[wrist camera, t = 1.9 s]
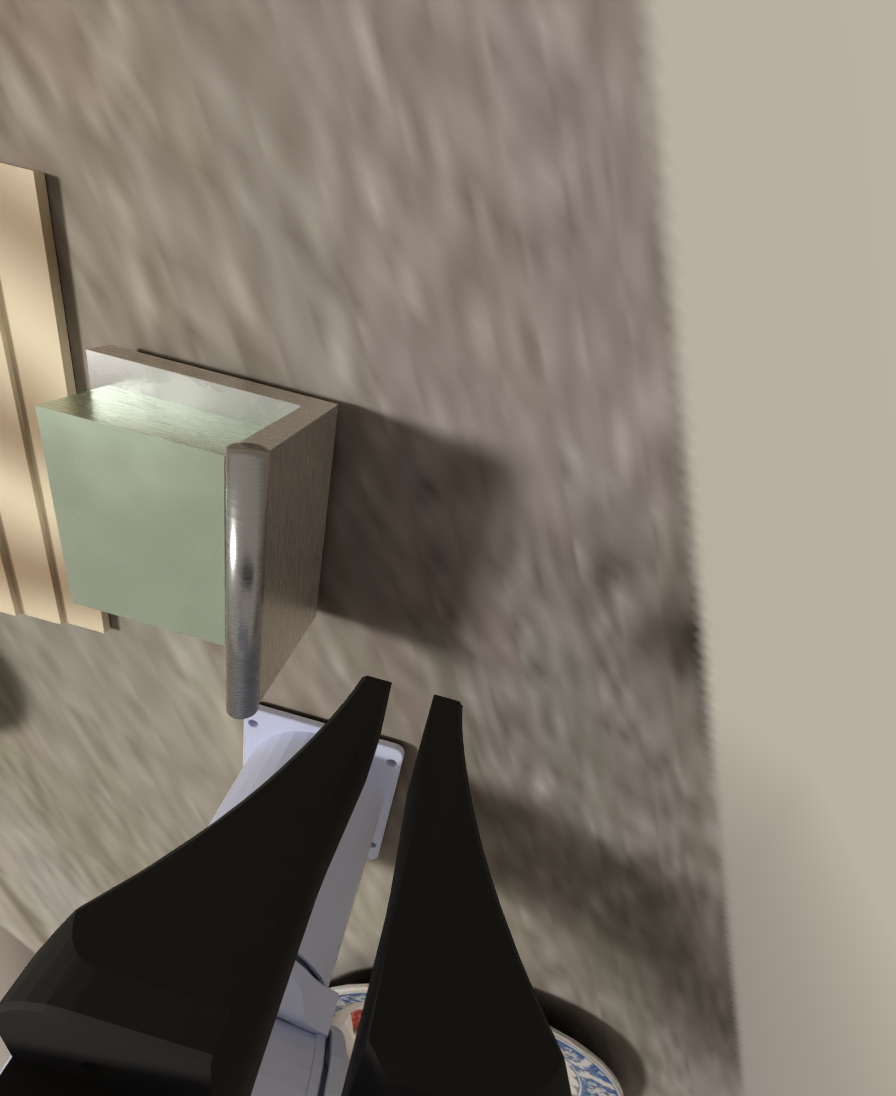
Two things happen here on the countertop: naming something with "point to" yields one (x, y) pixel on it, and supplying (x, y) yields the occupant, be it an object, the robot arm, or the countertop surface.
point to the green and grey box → (193, 506)
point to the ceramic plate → (586, 1072)
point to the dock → (31, 405)
